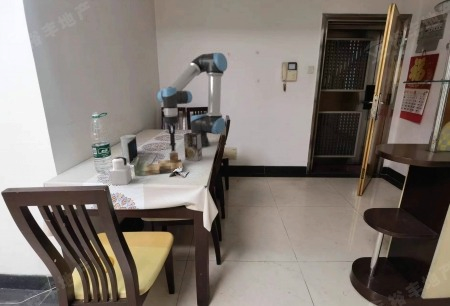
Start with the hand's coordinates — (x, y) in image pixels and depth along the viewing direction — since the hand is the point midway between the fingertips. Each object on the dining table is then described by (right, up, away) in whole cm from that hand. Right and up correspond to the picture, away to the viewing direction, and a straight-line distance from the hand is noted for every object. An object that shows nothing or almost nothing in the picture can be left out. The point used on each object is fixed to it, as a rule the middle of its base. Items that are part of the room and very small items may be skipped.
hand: (173, 155), depth 140 cm
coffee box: (+11, -3, +7) cm, 13 cm away
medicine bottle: (-18, -13, -28) cm, 36 cm away
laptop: (-19, -3, +6) cm, 20 cm away
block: (+2, -3, -6) cm, 7 cm away
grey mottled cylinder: (-33, 0, +17) cm, 37 cm away
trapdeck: (-5, -7, -11) cm, 14 cm away
